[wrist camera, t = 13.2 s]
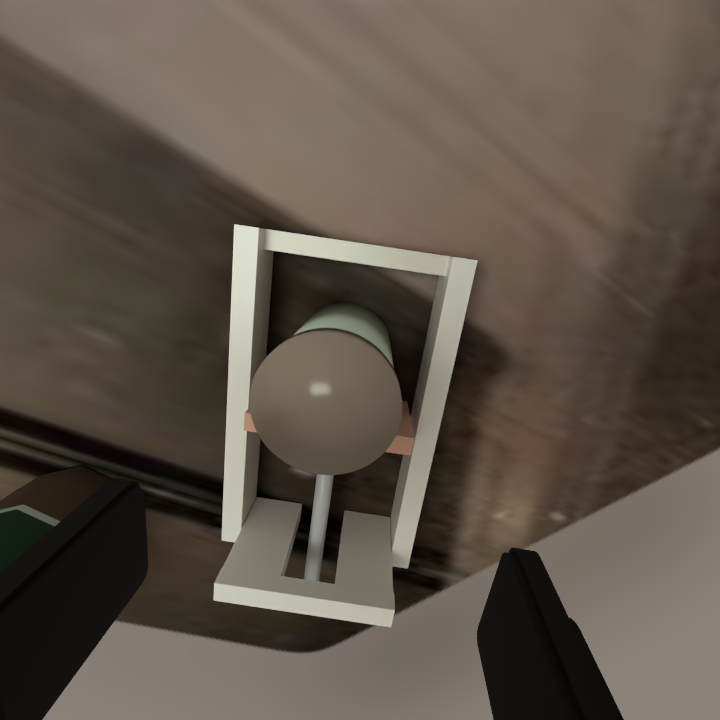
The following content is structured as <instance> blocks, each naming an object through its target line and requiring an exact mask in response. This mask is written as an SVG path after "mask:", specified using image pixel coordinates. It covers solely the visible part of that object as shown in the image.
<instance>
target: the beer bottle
mask: <svg viewBox="0 0 720 720" xmlns="http://www.w3.org/2000/svg"><path fill="white" fill-rule="evenodd" d="M109 480H111V479H109V478H107V477H105V476H103V475H101V474H98V473H96V472H94V471H92V470H90V469H88V468H86V467H84V466H78V467H74V468H70V469H66V470H62V471H57V472H53V473H49V474H45V475H41V476H39V477H38V478H36V479H34V480H33V481H31V482H29V483H28V484H26V485H24V486H23V487H21V488H19V489H18V490H16V491H15V492H13V493H12V494H10V495H9V496H7V497H6V498H4V499H3V500H1V501H0V572H1V571H2V570H4V569H5V568H6V567H7V566H8V565H9V564H11V563H12V562H13V561H14V560H15V559H17V558H18V557H19V556H20V555H21V554H22V553H24V552H25V551H26V550H27V549H28V548H30V547H31V546H32V545H33V544H34V543H36V542H37V541H38V540H39V539H40V538H41V537H43V536H44V535H45V534H46V533H47V532H49V531H50V530H51V529H52V528H53V527H54V526H56V525H57V524H58V523H59V522H60V521H62V520H63V519H64V518H65V517H66V516H68V515H69V514H70V513H71V512H72V511H73V510H75V509H76V508H77V507H78V506H79V505H81V504H82V503H83V502H84V501H85V500H87V499H88V498H89V497H90V496H91V495H92V494H94V493H95V492H96V491H97V490H98V489H100V488H101V487H102V486H103V485H104V484H105V483H107V482H108V481H109Z"/></svg>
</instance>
